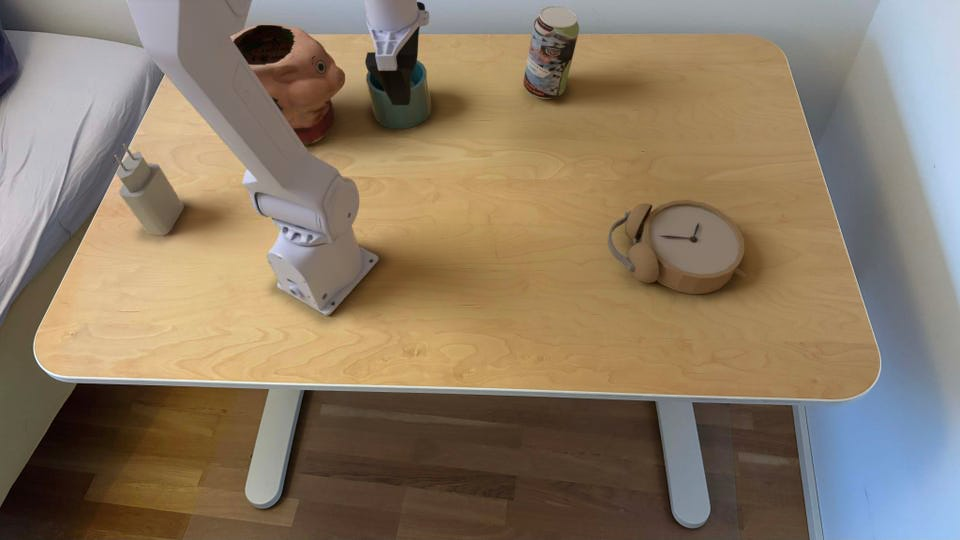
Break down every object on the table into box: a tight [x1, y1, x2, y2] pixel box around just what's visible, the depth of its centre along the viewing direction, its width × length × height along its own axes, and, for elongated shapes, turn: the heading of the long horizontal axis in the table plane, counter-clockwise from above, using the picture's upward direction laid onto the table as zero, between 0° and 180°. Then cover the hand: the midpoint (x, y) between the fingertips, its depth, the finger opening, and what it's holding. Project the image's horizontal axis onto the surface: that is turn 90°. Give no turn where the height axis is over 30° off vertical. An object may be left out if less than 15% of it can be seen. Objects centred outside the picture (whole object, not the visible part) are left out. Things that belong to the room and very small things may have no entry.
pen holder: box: [365, 59, 432, 130], centre depth 92 cm, size 8×8×6 cm
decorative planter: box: [231, 23, 346, 146], centre depth 88 cm, size 20×12×14 cm, turn 90°
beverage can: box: [523, 5, 580, 100], centre depth 91 cm, size 6×7×12 cm
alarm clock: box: [607, 199, 747, 295], centre depth 76 cm, size 11×5×15 cm
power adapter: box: [114, 143, 185, 236], centre depth 80 cm, size 3×5×12 cm, turn 169°
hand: (404, 82), depth 82 cm, fingers open, 7 cm apart
